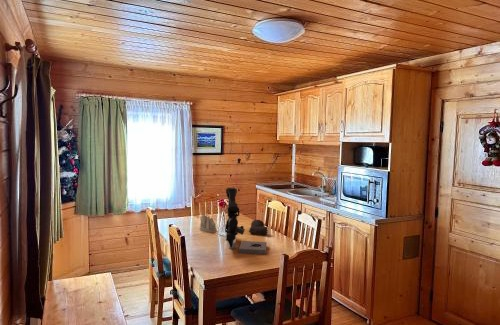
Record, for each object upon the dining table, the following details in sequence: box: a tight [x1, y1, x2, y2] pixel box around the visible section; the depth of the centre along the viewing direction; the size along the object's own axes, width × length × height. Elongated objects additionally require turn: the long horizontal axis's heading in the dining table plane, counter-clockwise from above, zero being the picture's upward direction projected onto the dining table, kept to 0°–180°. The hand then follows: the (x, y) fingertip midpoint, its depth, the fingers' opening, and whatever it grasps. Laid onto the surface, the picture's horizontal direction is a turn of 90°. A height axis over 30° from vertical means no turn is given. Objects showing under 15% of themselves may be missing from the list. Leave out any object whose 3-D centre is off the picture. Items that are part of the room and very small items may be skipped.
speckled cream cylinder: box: [228, 237, 237, 250], centre depth 245 cm, size 5×5×8 cm
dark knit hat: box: [248, 219, 269, 236], centre depth 285 cm, size 10×15×15 cm
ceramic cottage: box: [199, 212, 217, 233], centre depth 292 cm, size 16×16×15 cm
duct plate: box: [238, 240, 268, 255], centre depth 243 cm, size 18×18×3 cm
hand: (232, 245), depth 245 cm, fingers open, 9 cm apart
